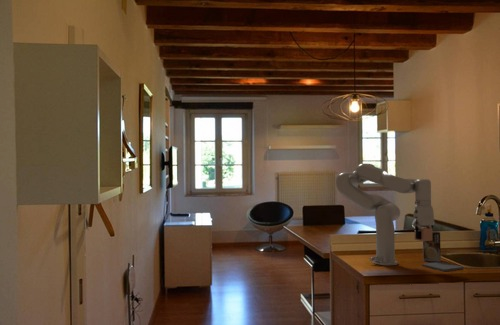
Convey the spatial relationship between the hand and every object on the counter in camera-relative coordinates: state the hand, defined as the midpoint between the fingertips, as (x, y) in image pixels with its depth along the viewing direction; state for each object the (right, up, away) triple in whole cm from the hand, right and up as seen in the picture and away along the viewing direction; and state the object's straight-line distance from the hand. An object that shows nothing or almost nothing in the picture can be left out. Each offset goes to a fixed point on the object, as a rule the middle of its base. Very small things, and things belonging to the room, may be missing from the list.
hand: (423, 238), depth 224 cm
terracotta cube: (0, -1, 0) cm, 1 cm away
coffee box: (+13, -16, +20) cm, 29 cm away
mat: (+11, -16, +3) cm, 19 cm away
